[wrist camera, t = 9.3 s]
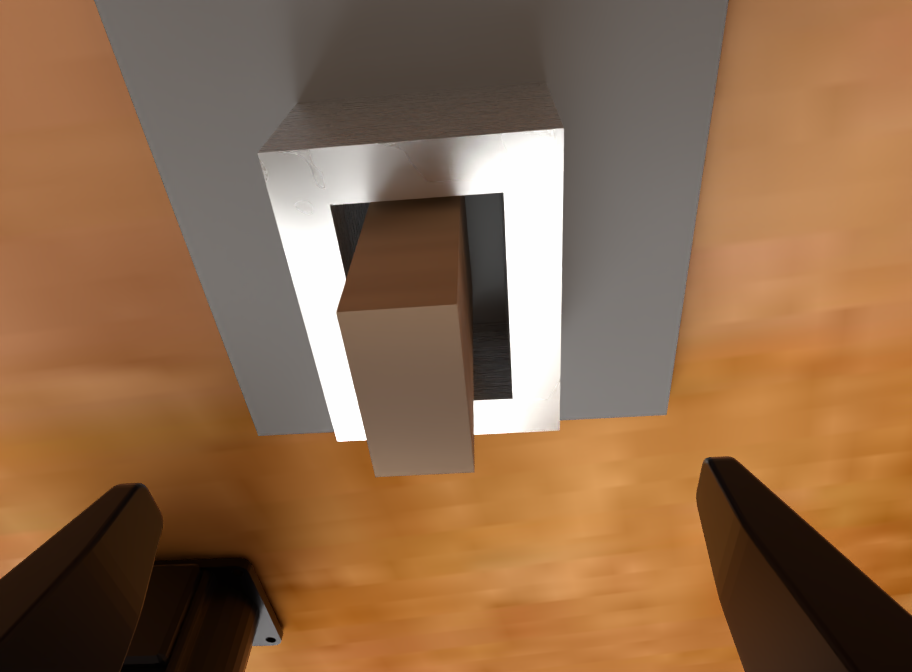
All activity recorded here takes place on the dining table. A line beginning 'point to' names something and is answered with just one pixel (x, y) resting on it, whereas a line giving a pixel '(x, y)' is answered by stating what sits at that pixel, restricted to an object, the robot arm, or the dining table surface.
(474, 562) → the dining table surface
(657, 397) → the slate board
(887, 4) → the dining table surface
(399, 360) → the wooden block
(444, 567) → the dining table surface
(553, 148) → the white hollow frame
